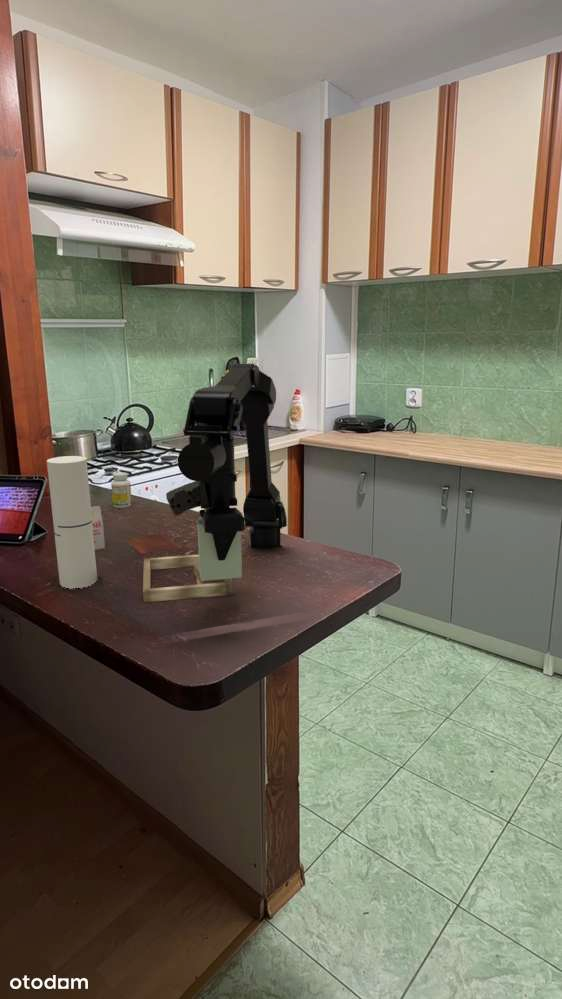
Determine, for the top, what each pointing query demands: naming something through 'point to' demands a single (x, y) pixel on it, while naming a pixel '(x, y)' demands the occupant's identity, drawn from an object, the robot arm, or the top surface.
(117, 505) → the supplement bottle
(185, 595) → the rack
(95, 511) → the white box
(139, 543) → the wooden tablet
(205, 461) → the robot arm
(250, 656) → the top surface
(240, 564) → the sage green prism
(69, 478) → the cylindrical container
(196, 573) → the tan flat block
